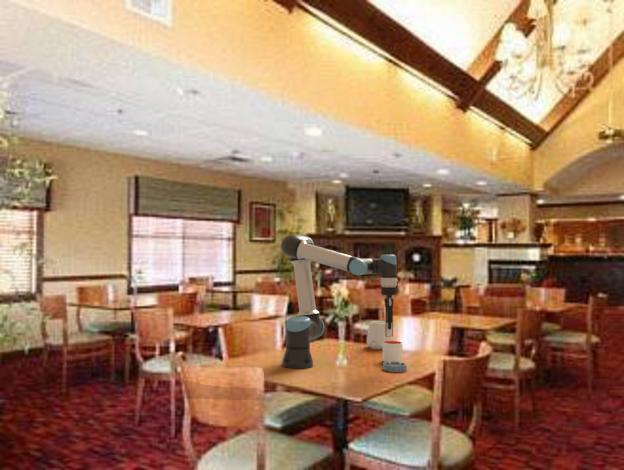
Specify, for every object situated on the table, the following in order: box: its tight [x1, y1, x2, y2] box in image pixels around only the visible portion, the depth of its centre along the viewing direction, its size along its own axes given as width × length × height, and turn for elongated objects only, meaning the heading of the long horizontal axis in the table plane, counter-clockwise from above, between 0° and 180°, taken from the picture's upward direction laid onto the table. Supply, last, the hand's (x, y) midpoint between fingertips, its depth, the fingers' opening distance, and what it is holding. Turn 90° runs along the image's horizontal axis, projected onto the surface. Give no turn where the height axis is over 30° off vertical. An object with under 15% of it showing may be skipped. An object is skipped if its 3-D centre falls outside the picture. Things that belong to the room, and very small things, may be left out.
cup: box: [381, 340, 403, 363], centre depth 301 cm, size 10×10×10 cm
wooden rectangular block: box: [384, 312, 394, 338], centre depth 282 cm, size 3×2×11 cm
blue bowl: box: [382, 361, 408, 373], centre depth 282 cm, size 11×11×4 cm
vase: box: [366, 320, 392, 350], centre depth 342 cm, size 14×14×15 cm
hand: (389, 335), depth 282 cm, fingers closed on wooden rectangular block, 2 cm apart
